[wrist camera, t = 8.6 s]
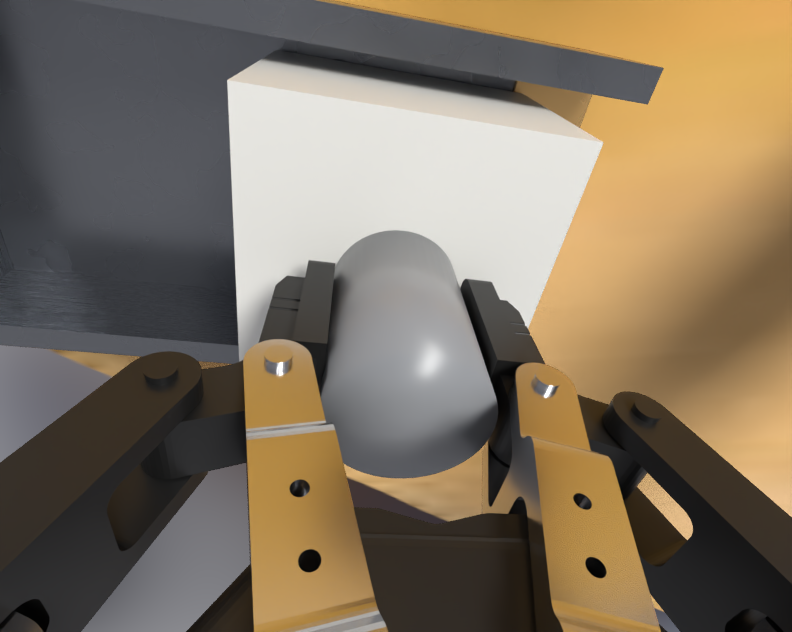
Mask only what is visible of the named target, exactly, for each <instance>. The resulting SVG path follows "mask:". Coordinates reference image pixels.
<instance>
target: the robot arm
mask: <svg viewBox="0 0 792 632" xmlns="http://www.w3.org/2000/svg"><path fill="white" fill-rule="evenodd" d="M334 272H335V263H331V262H323V261H314V260H309V261H308V265H307V270H306V275H305V278H304V277H295V276H286V277H285V278H283V279H282V280H281V281H280V282H279V283H278V284H276V286H275V289H274V293H273V296H272V299H271V303H270V306H269V309H268V313H267V316H266V319H265V323H264V326H263V329H262V333H261V336H260V339H259V342H258V344H256V345H254V346H252V347H251V348H250V349H249V350H248V351H247V352H246V354H245V356H244V360H242V361H240V362H237V363H235V364H231V365H228V366H222V367H215V368H208V369H201V366H200V364H199V362H198V361H197V360H196V359H195V358H193V357H192V356H189V355H187V354H184V353H181V352H172V351H166V352H157V353H152V354H148V355H146V356H143V357H141V358H139V359H137V360H135V361H133V362H132V363H130V364H129V365H128V366H126V367H125V368H124V369H123V370H121V371H120V372H119V373H117V374H116V375H115V376H113V377H112V378H111V379H109V380H108V381H107V382H106V383H104V384H103V385H102V386H100V387H99V388H98V389H96V390H95V391H94V392H92V393H91V394H90V395H88V396H87V397H86V398H85V399H83V400H82V401H81V402H79V403H78V404H77V405H75V406H74V407H73V408H71V409H70V410H69V411H67V412H66V413H65V414H64V415H62V416H61V417H60V418H58V419H57V420H56V421H54V422H53V423H52V424H50V425H49V426H48V427H46V428H45V429H44V430H43V431H41V432H40V433H39V434H37V435H36V436H35V437H33V438H32V439H31V440H29V441H28V442H27V443H25V444H24V445H23V446H22V447H20V448H19V449H18V450H16V451H15V452H14V453H12V454H11V455H10V456H8V457H7V458H6V459H4V460H3V461H2V462H1V463H0V632H81V631H82V630H83V629H84V627H85V626H86V625H87V624H88V622H89V621H90V620H91V619H92V617H93V616H94V615H95V614H96V612H97V611H98V610H99V609H100V607H101V606H102V605H103V604H104V602H105V601H106V600H107V599H108V597H109V596H110V595H111V594H112V592H113V591H114V590H115V589H116V587H117V586H118V585H119V584H120V582H121V581H122V580H123V578H124V577H125V576H126V575H127V574H128V572H129V571H130V570H131V569H132V567H133V566H134V565H135V564H136V563H137V561H138V560H139V559H140V557H141V556H142V555H143V554H144V553H145V551H146V550H147V549H148V548H149V546H150V545H151V544H152V543H153V541H154V540H155V539H156V538H157V536H158V535H159V534H160V533H161V531H162V530H163V529H164V528H165V526H166V525H167V524H168V522H169V521H170V520H171V519H172V517H173V516H174V515H175V514H176V513H177V511H178V510H179V509H180V508H181V506H182V505H183V504H184V503H185V501H186V500H187V499H188V498H189V496H190V495H191V494H192V493H193V491H194V490H195V489H196V487H197V486H198V485H199V484H200V483H201V482H202V480H203V479H204V478H205V476H206V475H207V473H208V471H211V470H215V469H220V468H224V467H229V466H233V465H238V464H242V463H246V464H247V465H246V466H247V490H248V492H247V493H248V520H249V550H250V565H249V566H248V567H247V568H246V569H245V570H244V571H243V572H242V573H241V575H239V576H238V577H237V579H236V580H235V581H234V582H233V583H232V584H231V585H230V586H229V587H228V588H227V589H226V590H225V591H224V592H223V593H222V595H220V597H219V598H218V599H217V600H216V601H215V602H214V603H213V604H212V605H211V606H210V607H209V608H208V609H207V610H206V611H205V612H204V613H203V614H202V616H201V617H200V618H199V619H198V620H197V621H196V622H195V623H194V624H193V625H192V626H191V627H190V628H189V629H188V630H187V631H186V632H667V631H666V630H665V629H664V628H663V627H662V626H660V624H659V623H658V620H657V616H656V613H655V610H654V606H653V603H652V599H651V596H650V594H651V595H652V597H653V598H654V599H655V600H656V602H657V603H658V604H659V605H660V607H661V608H662V609H663V610H664V612H665V613H666V614H667V615H668V617H669V618H670V619H671V620H672V622H673V623H674V624H675V625H676V627H677V628H678V629H679V631H680V632H792V517H790V516H789V515H788V514H787V513H786V512H785V511H784V510H782V509H781V508H780V507H779V506H778V505H777V504H775V503H774V502H773V501H772V500H771V499H770V498H769V497H767V496H766V495H765V494H764V493H763V492H762V491H760V490H759V489H758V488H757V487H756V486H755V485H754V484H752V483H751V482H750V481H749V480H748V479H747V478H745V477H744V476H743V475H742V474H741V473H740V472H739V471H737V470H736V469H735V468H734V467H733V466H732V465H730V464H729V463H728V462H727V461H726V460H725V459H724V458H722V457H721V456H720V455H719V454H718V453H717V452H715V451H714V450H713V449H712V448H711V447H710V446H709V445H707V444H706V443H705V442H704V441H703V440H702V439H700V438H699V437H698V436H697V435H696V434H695V433H694V432H692V431H691V430H690V429H689V428H688V427H687V426H685V425H684V424H683V423H682V422H681V421H680V420H679V419H677V418H676V417H675V416H674V415H673V414H672V413H670V412H669V411H668V410H667V409H666V408H665V407H663V406H662V405H661V404H659V403H658V402H656V401H655V400H653V399H651V398H649V397H647V396H645V395H642V394H639V393H635V392H620V393H618V394H616V395H615V396H614V398H613V399H612V401H611V403H610V404H609V405H608V404H605V403H601V402H598V401H595V400H592V399H589V398H586V397H583V396H580V395H577V392H576V389H575V386H574V384H573V383H572V382H571V380H570V379H569V378H568V377H567V376H566V375H564V374H563V373H562V372H560V371H559V370H557V369H555V368H553V367H551V366H548V365H545V363H544V361H543V359H542V357H541V355H540V353H539V351H538V349H537V347H536V345H535V343H534V341H533V338H532V336H530V332H529V330H528V328H527V326H525V322H524V320H523V318H522V316H521V314H520V312H519V311H518V310H517V309H516V308H515V307H513V306H512V305H511V304H510V303H509V302H508V301H506V300H500V299H499V296H498V294H497V292H496V290H495V288H494V285H493V283H492V282H490V281H481V280H473V279H465V280H464V281H463V282H462V285H461V288H460V290H461V293H462V296H463V299H464V302H465V305H466V308H467V311H468V314H469V317H470V320H471V323H472V326H473V329H474V332H475V335H476V338H477V341H478V344H479V348H480V351H481V354H482V357H483V360H484V363H485V366H486V369H487V372H488V375H489V378H490V381H491V384H492V387H493V390H494V393H495V396H496V399H497V403H498V418H497V423H496V426H495V429H494V431H493V433H492V435H491V437H490V438H489V439H488V441H487V442H486V444H485V446H484V449H483V454H482V514H480V515H476V516H472V517H468V518H463V519H459V520H455V521H451V522H446V523H442V524H432V523H428V522H424V521H421V520H417V519H414V518H410V517H407V516H403V515H400V514H396V513H393V512H390V511H386V510H382V509H378V508H377V509H376V508H354V507H353V503H352V499H351V494H350V490H349V486H348V482H347V477H346V473H345V469H344V464H343V460H342V456H341V451H340V447H339V443H338V439H337V434H336V430H335V427H334V425H333V423H332V422H328V423H326V420H325V416H324V411H323V407H322V402H321V398H320V390H321V382H322V377H323V374H324V370H325V361H326V351H327V341H328V332H329V322H330V312H331V302H332V292H333V282H334ZM647 473H649V474H650V475H651V476H652V478H653V479H654V480H655V481H656V482H657V483H658V484H659V485H660V486H661V487H662V488H663V489H664V490H665V491H666V492H667V493H668V494H669V495H670V496H671V497H672V498H673V499H674V500H675V501H676V502H677V503H678V504H679V505H680V506H681V507H682V508H683V509H684V510H685V512H686V513H687V514H688V516H689V517H690V519H691V522H692V525H693V534H692V536H691V537H690V538H689V539H688V540H686V539H685V538H684V537H683V536H682V535H681V534H680V533H679V532H678V531H677V529H676V528H675V527H674V526H673V525H672V524H671V523H670V522H669V521H668V520H667V519H666V518H665V517H664V515H663V514H662V513H661V512H660V511H659V510H658V509H657V508H656V507H655V506H654V505H653V504H652V503H651V502H650V500H649V499H648V498H647V497H646V496H645V495H644V494H643V493H642V492H641V491H640V490H639V489H638V488H637V486H638V484H639V483H640V482H641V481H642V479H643V478H644V477H645V475H646V474H647Z"/></svg>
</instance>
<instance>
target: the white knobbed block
mask: <svg viewBox="0 0 792 632" xmlns="http://www.w3.org/2000/svg"><path fill="white" fill-rule="evenodd" d="M227 87H228V110H229V134H230V157H231V180H232V204H233V227H234V251H235V274H236V297H237V321H238V344H239V362H240V361H242V360H244V356H245V354H246V352H247V351H248V350H249V349H250V348H251V347H252V346H254V345H256V344H258V342H259V339H260V336H261V333H262V329H263V326H264V323H265V319H266V316H267V313H268V309H269V306H270V303H271V299H272V296H273V293H274V289H275V286H276V284H278V283H279V282H280V281H281V280H282V279H283V278H285V277H286V276H295V277H304V278H305V275H306V270H307V265H308V261H309V260H314V261H323V262H331V263H335V272H334V282H333V292H332V302H331V312H330V322H329V332H328V341H327V351H326V361H325V370H324V374H323V377H322V382H321V390H320V398H321V402H322V407H323V411H324V416H325V420H326V423H328V422H332V423H333V425H334V427H335V430H336V434H337V439H338V443H339V447H340V451H341V456H342V460H343V463H344V464H346V465H347V466H349V467H351V468H353V469H355V470H358V471H361V472H363V473H367V474H370V475H374V476H380V477H387V478H415V477H422V476H427V475H432V474H436V473H439V472H442V471H445V470H448V469H450V468H452V467H455V466H457V465H459V464H460V463H462V462H464V461H466V460H467V459H469V458H470V457H472V456H473V455H474V454H475V453H476V452H478V451H479V450H480V449H481V448H482V447H483V446H484V445H485V443H486V442H487V441H488V439H489V438H490V437H491V435H492V433H493V431H494V429H495V426H496V423H497V418H498V403H497V399H496V396H495V393H494V390H493V387H492V384H491V381H490V378H489V375H488V372H487V369H486V366H485V363H484V360H483V357H482V354H481V351H480V348H479V344H478V341H477V338H476V335H475V332H474V329H473V326H472V323H471V320H470V317H469V314H468V311H467V308H466V305H465V302H464V299H463V296H462V293H461V290H460V288H461V285H462V282H463V281H464V280H465V279H473V280H481V281H490V282H492V283H493V285H494V288H495V290H496V292H497V294H498V296H499V299H500V300H506V301H508V302H509V303H510V304H511V305H512V306H513V307H515V308H516V309H517V310H518V311H519V312H520V314H521V316H522V318H523V320H524V322H525V326H527V328H528V327H529V324H530V322H531V320H532V317H533V315H534V312H535V310H536V307H537V305H538V302H539V300H540V297H541V295H542V292H543V290H544V288H545V285H546V283H547V280H548V278H549V275H550V273H551V270H552V268H553V265H554V263H555V261H556V258H557V256H558V253H559V251H560V248H561V246H562V243H563V241H564V238H565V236H566V234H567V231H568V229H569V226H570V224H571V221H572V219H573V216H574V214H575V211H576V209H577V207H578V204H579V202H580V199H581V197H582V194H583V192H584V189H585V187H586V184H587V182H588V179H589V177H590V175H591V172H592V170H593V167H594V165H595V162H596V160H597V157H598V155H599V152H600V150H601V148H602V145H603V143H604V142H602V141H600V140H599V139H597V138H595V137H594V136H592V135H590V134H589V133H587V132H585V131H584V130H582V129H580V128H579V127H577V126H575V125H574V124H572V123H570V122H569V121H567V120H566V119H564V118H562V117H561V116H559V115H557V114H556V113H554V112H552V111H551V110H549V109H547V108H546V107H544V106H542V105H541V104H539V103H537V102H536V101H534V100H532V99H531V98H529V97H527V96H526V95H524V94H522V93H517V92H511V91H506V90H500V89H494V88H489V87H483V86H477V85H472V84H466V83H460V82H455V81H449V80H444V79H438V78H432V77H427V76H421V75H415V74H410V73H404V72H398V71H393V70H387V69H382V68H376V67H370V66H365V65H359V64H353V63H348V62H342V61H336V60H331V59H325V58H320V57H314V56H308V55H303V54H297V53H291V52H286V51H280V50H276V51H274V52H272V53H271V54H269V55H268V56H266V57H264V58H263V59H261V60H259V61H258V62H256V63H254V64H253V65H251V66H250V67H248V68H246V69H245V70H243V71H241V72H240V73H238V74H236V75H235V76H233V77H231V78H230V79H228V80H227Z"/></svg>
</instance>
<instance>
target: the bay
mask: <svg viewBox="0 0 792 632" xmlns="http://www.w3.org/2000/svg"><path fill="white" fill-rule="evenodd" d="M276 50H280V51H286V52H291V53H297V54H303V55H308V56H314V57H320V58H325V59H331V60H336V61H342V62H348V63H353V64H359V65H365V66H370V67H376V68H382V69H387V70H393V71H398V72H404V73H410V74H415V75H421V76H427V77H432V78H438V79H444V80H449V81H455V82H460V83H466V84H472V85H477V86H483V87H489V88H494V89H500V90H506V91H511V92H517V93H522V94H524V95H526V96H527V97H529V98H531V99H532V100H534V101H536V102H537V103H539V104H541V105H542V106H544V107H546V108H547V109H549V110H551V111H552V112H554V113H556V114H557V115H559V116H561V117H562V118H564V119H566V120H567V121H569V122H570V123H572V124H574V125H575V126H577V127H579V128H580V126H581V123H582V121H583V118H584V115H585V113H586V110H587V107H588V105H589V102H590V99H591V97H592V94H593V95H598V96H604V97H609V98H615V99H620V100H626V101H632V102H637V103H643V104H648V103H649V100H650V98H651V96H652V93H653V91H654V89H655V87H656V84H657V82H658V80H659V78H660V75H661V73H662V71H663V68H661V67H657V66H653V65H649V64H645V63H640V62H636V61H632V60H628V59H623V58H619V57H615V56H611V55H606V54H602V53H598V52H594V51H589V50H583V49H578V48H573V47H568V46H563V45H558V44H553V43H548V42H543V41H537V40H532V39H527V38H522V37H517V36H512V35H507V34H502V33H497V32H491V31H486V30H481V29H476V28H471V27H466V26H461V25H456V24H451V23H446V22H440V21H435V20H430V19H425V18H420V17H415V16H410V15H405V14H400V13H394V12H389V11H384V10H379V9H374V8H369V7H364V6H359V5H354V4H349V3H343V2H338V1H333V0H0V345H8V346H20V347H32V348H43V349H56V350H68V351H81V352H93V353H105V354H118V355H130V356H142V357H143V356H146V355H148V354H152V353H157V352H166V351H172V352H181V353H184V354H187V355H189V356H192V357H193V358H195V359H196V360H197V361H204V362H217V363H229V364H235V363H237V362H239V344H238V321H237V297H236V274H235V251H234V227H233V204H232V180H231V157H230V134H229V110H228V87H227V80H228V79H230V78H231V77H233V76H235V75H236V74H238V73H240V72H241V71H243V70H245V69H246V68H248V67H250V66H251V65H253V64H254V63H256V62H258V61H259V60H261V59H263V58H264V57H266V56H268V55H269V54H271V53H272V52H274V51H276Z"/></svg>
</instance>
